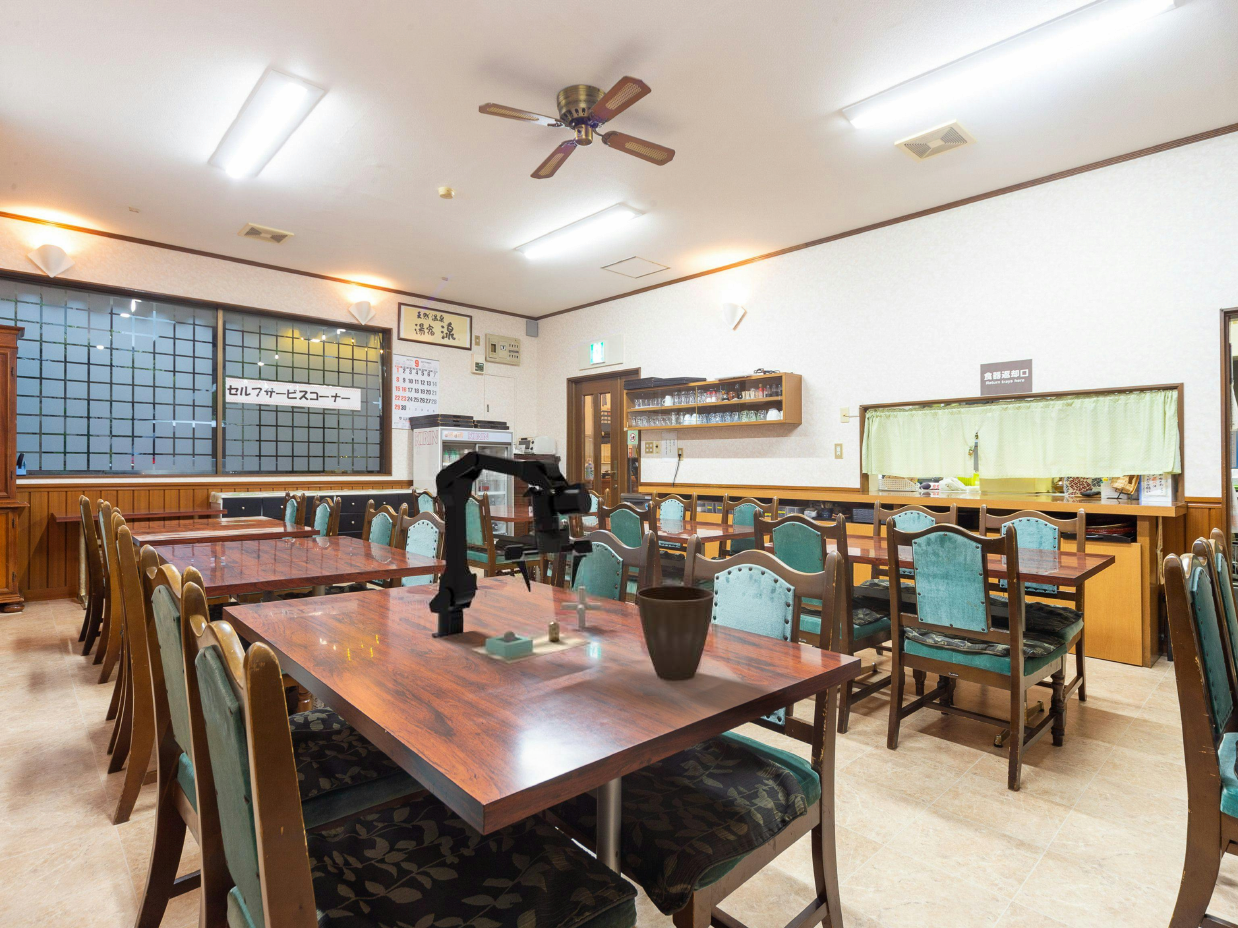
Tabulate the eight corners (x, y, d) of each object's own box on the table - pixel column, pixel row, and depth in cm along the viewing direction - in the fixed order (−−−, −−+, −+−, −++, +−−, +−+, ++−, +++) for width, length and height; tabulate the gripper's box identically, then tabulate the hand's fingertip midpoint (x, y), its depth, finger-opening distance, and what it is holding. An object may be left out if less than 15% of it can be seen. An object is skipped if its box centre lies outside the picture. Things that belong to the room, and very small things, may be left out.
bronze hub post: (546, 640, 144) (546, 621, 144) (554, 638, 145) (554, 620, 145) (553, 642, 142) (553, 623, 142) (561, 640, 143) (561, 621, 144)
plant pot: (666, 693, 115) (666, 603, 115) (621, 670, 127) (622, 589, 127) (729, 679, 123) (730, 595, 123) (681, 659, 135) (682, 583, 135)
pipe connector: (600, 632, 157) (600, 591, 158) (559, 631, 158) (560, 590, 158) (602, 622, 167) (602, 583, 168) (564, 621, 168) (564, 583, 168)
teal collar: (485, 650, 135) (485, 638, 135) (513, 644, 140) (513, 633, 140) (504, 658, 130) (505, 645, 130) (532, 651, 135) (532, 639, 135)
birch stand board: (470, 655, 137) (470, 628, 137) (551, 637, 152) (552, 613, 152) (508, 671, 127) (508, 641, 127) (591, 649, 142) (591, 623, 142)
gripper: (501, 521, 130) (506, 599, 130) (592, 514, 133) (598, 590, 133) (502, 520, 141) (507, 592, 141) (587, 513, 144) (592, 583, 144)
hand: (551, 589), depth 139 cm, fingers open, 9 cm apart
